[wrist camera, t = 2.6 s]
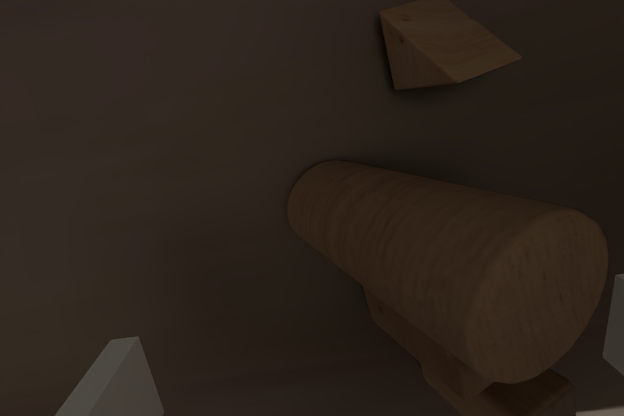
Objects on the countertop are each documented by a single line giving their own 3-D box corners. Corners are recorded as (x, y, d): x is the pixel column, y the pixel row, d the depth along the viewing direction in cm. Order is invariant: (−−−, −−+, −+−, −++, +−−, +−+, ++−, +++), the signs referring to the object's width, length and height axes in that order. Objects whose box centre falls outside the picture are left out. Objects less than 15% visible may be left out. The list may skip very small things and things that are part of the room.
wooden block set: (465, 321, 22) (683, 460, 13) (348, 399, 20) (521, 637, 11) (411, 6, 16) (756, -139, 7) (229, 58, 14) (405, -67, 4)
